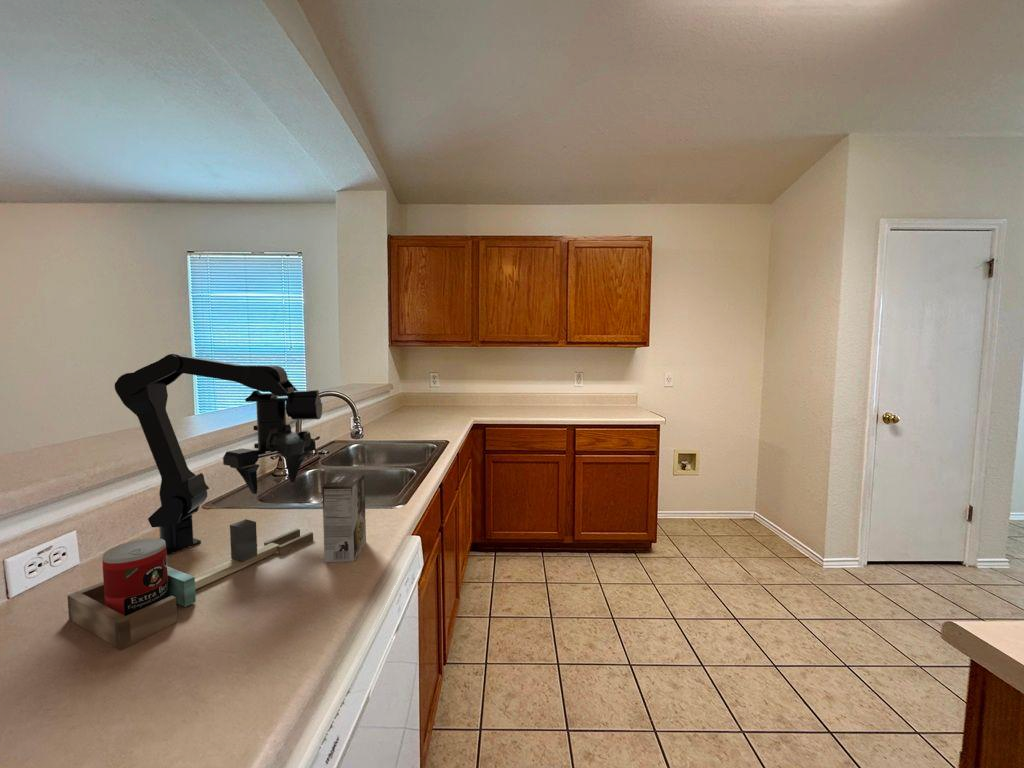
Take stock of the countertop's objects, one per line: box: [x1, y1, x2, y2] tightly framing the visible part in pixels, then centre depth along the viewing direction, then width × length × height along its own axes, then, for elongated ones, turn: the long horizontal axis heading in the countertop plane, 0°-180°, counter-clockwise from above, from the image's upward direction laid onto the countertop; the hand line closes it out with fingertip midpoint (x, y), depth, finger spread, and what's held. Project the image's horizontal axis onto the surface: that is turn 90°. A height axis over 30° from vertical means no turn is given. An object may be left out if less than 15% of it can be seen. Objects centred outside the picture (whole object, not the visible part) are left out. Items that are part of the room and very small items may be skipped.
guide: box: [263, 528, 314, 556], centre depth 92 cm, size 5×8×2 cm
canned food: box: [102, 537, 169, 616], centre depth 67 cm, size 8×8×11 cm
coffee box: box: [321, 473, 367, 563], centre depth 88 cm, size 9×6×16 cm
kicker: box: [167, 518, 279, 608], centre depth 80 cm, size 11×20×8 cm, turn 155°
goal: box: [66, 581, 178, 651], centre depth 65 cm, size 16×7×4 cm, turn 65°
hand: (274, 487), depth 95 cm, fingers open, 9 cm apart
